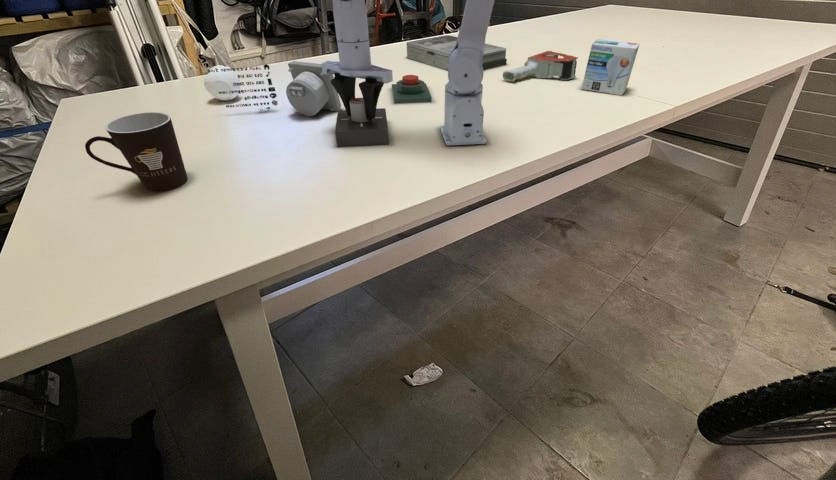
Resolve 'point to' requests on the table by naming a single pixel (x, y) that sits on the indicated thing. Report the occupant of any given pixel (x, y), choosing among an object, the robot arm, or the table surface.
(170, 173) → the coffee mug
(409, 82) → the button
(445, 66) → the hard drive
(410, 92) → the button block
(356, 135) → the dial panel
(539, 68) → the tape dispenser
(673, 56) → the table surface
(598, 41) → the light bulb box
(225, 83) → the motion sensor
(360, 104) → the knob
